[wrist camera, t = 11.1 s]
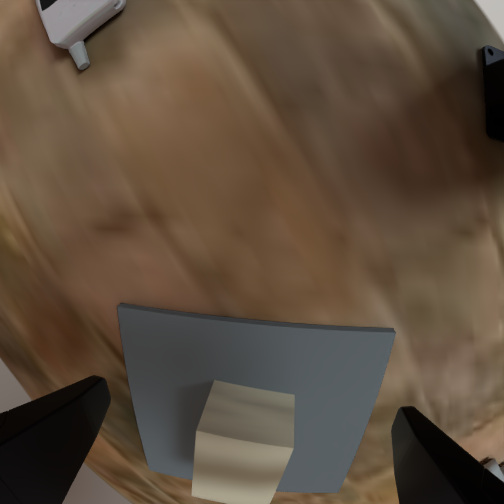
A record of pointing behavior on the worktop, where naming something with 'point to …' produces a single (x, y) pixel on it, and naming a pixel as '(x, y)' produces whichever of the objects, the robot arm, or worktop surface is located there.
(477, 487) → the robot arm
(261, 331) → the rubber mat
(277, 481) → the card box
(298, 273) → the worktop surface
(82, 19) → the mobile phone
